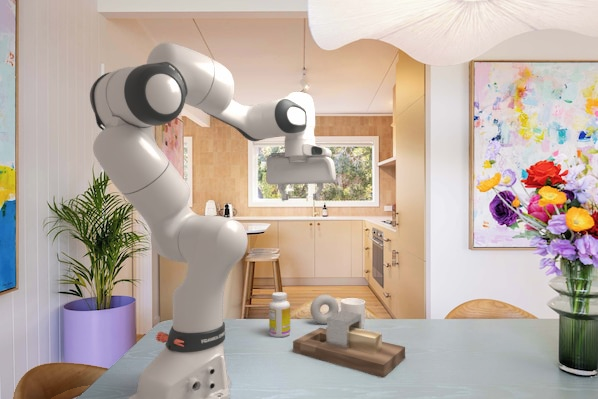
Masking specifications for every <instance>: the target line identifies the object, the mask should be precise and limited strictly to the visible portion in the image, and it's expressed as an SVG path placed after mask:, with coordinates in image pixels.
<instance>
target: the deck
mask: <svg viewBox="0 0 598 399" xmlns="http://www.w3.org/2000/svg"><path fill="white" fill-rule="evenodd" d="M292 353H296V354H300V355H303V356H306V357H310V358H313V359H318V360H321V361H324V362H326V363H332V364H335V365H338V366H341V367H345V368H348V369H352V370H355V371H359V372H363V373H366V374H369V375H372V376H373V375H374V376H377V377H379V378H385V377H386V376H388V374H389V373H391V372H392V371H393V370H394V369H395V368H397V366H398V365H399V364H401V363H402V362H403V361H404V360H405V359H406V346H403V345H398V344H395V343H394V344H393V343H390V342H386V341H382V349H381V350H380V351H378V352H377V353H376V354H372V353H368V352H364V351H360V350H356V349H352V348H349V349H348V350H343V349H339V348H335V347H331V346H328V345H327V342H326V328H323V327H319V328H317V329H315V330H312V331H310V332H309V333H307V334H305V335H303V336H301V337H298V338H296V339H294V340H293V341H292Z"/></svg>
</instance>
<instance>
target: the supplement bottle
mask: <svg viewBox="0 0 598 399" xmlns="http://www.w3.org/2000/svg"><path fill="white" fill-rule="evenodd" d="M271 294H272V295H271V298H272V301H270V302H269V304H268V307H269V308H268V318H269V320H268V321H269V322H268V323H269V324H268V326H269V335H270V336H271V337H275V338H285V337H288V336H289V335H290V334H291V304H290V301H288V300H287V298H288V294H287V292H284V291H283V292H282V291H277V292H275V291H274V292H273V293H271Z"/></svg>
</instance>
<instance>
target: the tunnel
mask: <svg viewBox="0 0 598 399" xmlns="http://www.w3.org/2000/svg"><path fill="white" fill-rule="evenodd" d="M349 327H354V328H358V329H361V314H358V313H353V312H348V311H341V310H340V311H338V313H336V314H334V315H332V316H330V317H328V318H327V324H326V328H327V345H328V346H331V347H335V348H339V349H343V350H348V349H349Z"/></svg>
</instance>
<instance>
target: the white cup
mask: <svg viewBox="0 0 598 399" xmlns="http://www.w3.org/2000/svg"><path fill="white" fill-rule="evenodd" d="M340 311H348V312H353V313H358V314H361V329H363V330H365V329H364V328H365V319H366V300H364V299H361V298H356V297H350V298H349V297H347V298H342V299H341V300H340Z"/></svg>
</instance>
